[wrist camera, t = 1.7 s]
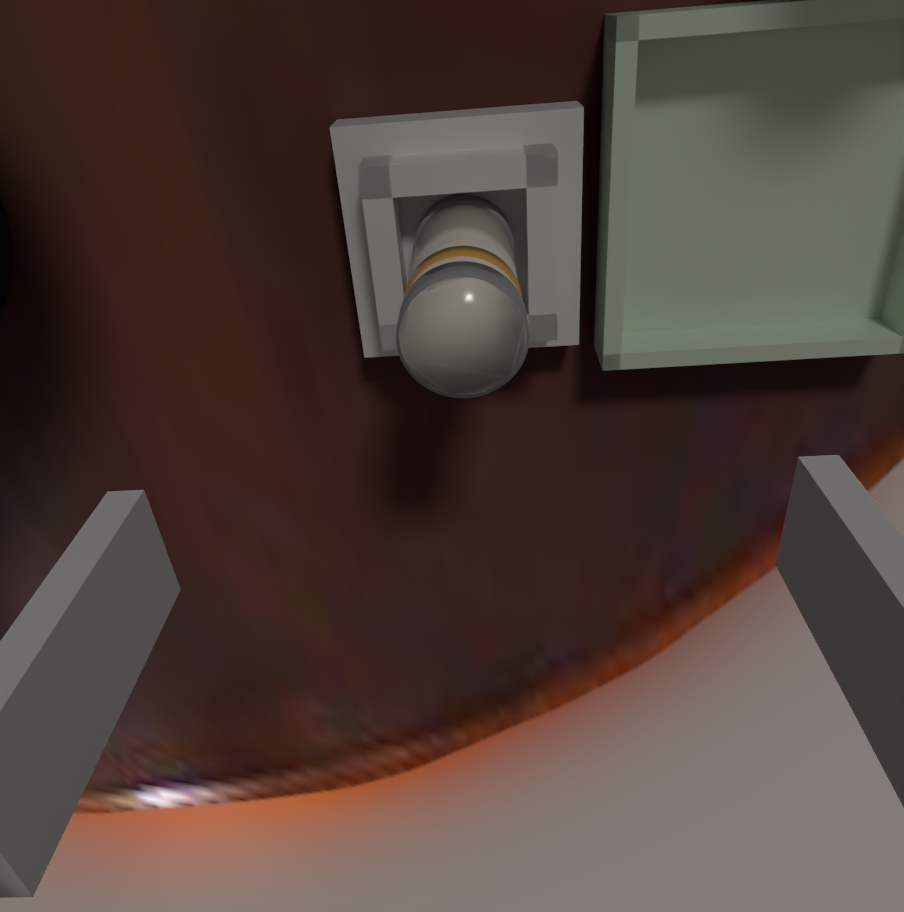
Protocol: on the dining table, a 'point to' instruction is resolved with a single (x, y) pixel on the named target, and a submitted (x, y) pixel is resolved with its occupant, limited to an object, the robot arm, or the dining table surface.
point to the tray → (751, 184)
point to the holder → (464, 172)
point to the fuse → (463, 301)
